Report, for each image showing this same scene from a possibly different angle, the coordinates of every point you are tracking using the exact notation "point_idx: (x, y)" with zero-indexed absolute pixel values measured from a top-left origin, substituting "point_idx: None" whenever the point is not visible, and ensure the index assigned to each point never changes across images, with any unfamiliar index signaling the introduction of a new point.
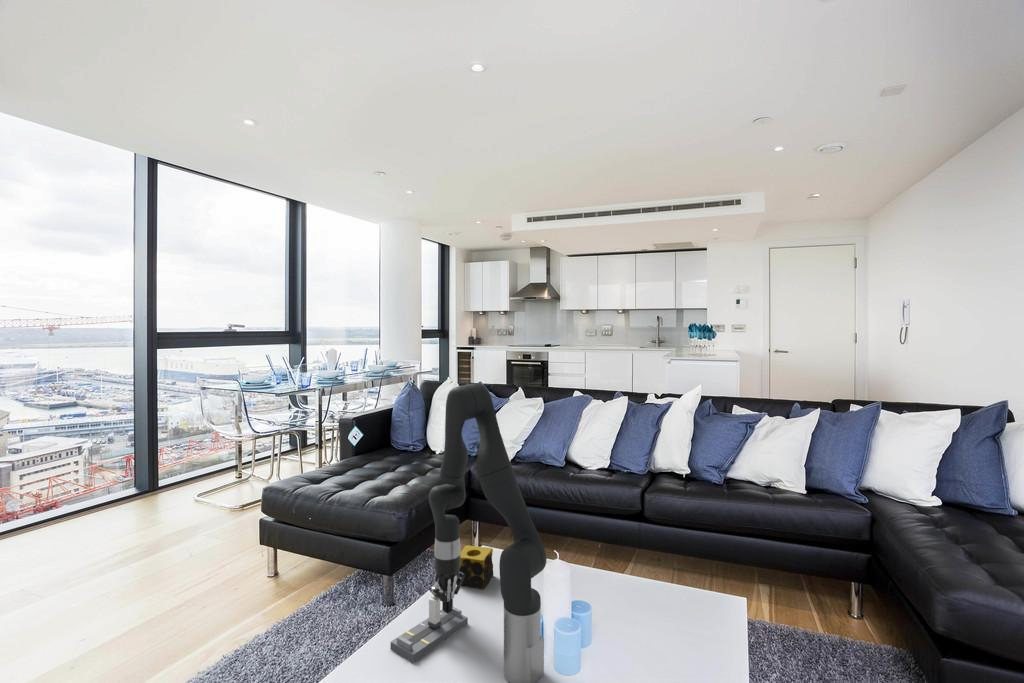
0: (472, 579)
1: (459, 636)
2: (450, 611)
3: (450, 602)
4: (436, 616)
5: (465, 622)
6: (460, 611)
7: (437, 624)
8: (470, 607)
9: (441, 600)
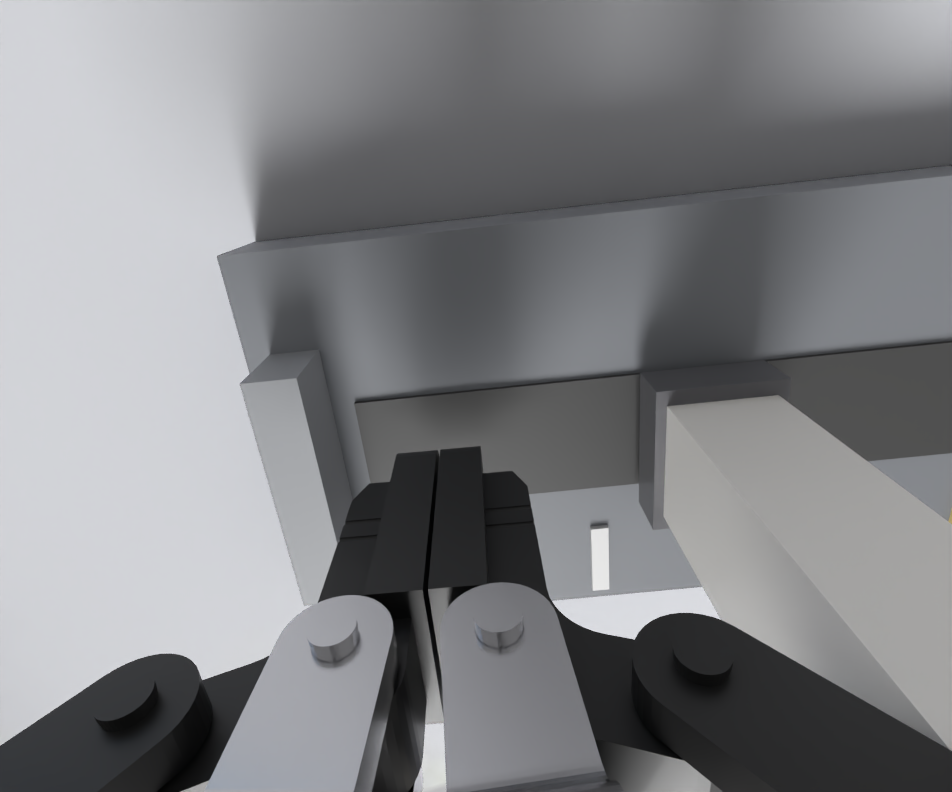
0: None
1: (505, 109)
2: (436, 450)
3: (422, 554)
4: (812, 450)
5: (285, 242)
6: (265, 380)
7: (736, 379)
8: (37, 478)
9: (798, 680)
